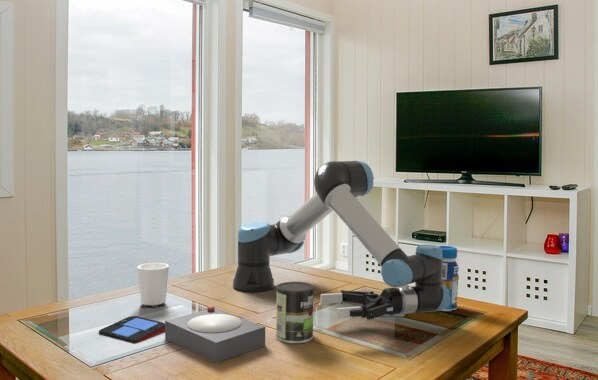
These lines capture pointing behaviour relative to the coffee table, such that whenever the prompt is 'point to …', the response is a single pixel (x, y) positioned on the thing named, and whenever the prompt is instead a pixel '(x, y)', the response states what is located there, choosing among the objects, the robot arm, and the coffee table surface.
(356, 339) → the coffee table surface
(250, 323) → the dome button box
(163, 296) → the cup
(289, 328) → the coffee can
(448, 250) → the beverage bottle
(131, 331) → the game console
